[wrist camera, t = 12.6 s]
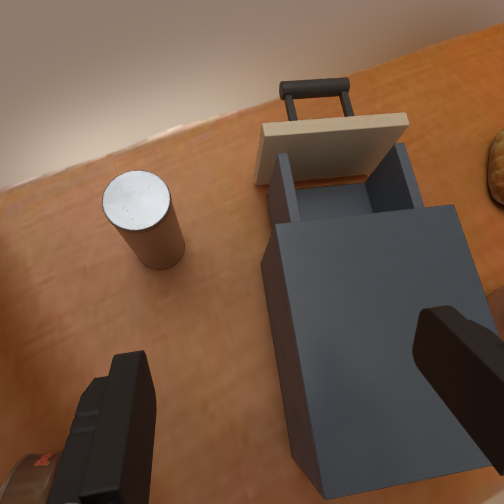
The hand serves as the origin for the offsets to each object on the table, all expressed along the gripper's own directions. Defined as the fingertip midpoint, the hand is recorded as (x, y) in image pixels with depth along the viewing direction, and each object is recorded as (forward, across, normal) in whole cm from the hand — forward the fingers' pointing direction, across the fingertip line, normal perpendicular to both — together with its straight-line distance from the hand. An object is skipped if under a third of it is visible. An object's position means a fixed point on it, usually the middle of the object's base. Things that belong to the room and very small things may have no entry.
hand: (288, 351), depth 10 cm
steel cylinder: (+22, +6, +7) cm, 24 cm away
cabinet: (+14, -9, +14) cm, 22 cm away
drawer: (+22, -9, +5) cm, 24 cm away
